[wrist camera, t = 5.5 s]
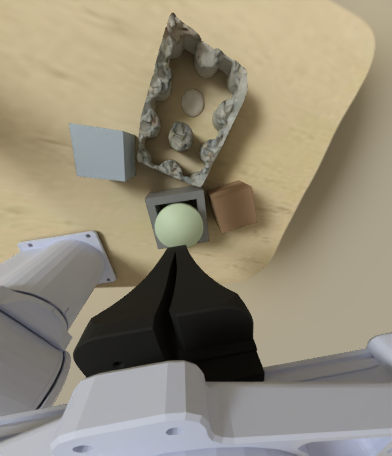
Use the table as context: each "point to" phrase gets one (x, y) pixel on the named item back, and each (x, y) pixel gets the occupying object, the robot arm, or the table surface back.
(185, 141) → the egg carton
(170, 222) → the green button
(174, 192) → the button housing
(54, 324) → the robot arm
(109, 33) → the table surface
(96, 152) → the slate-blue block
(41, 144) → the table surface
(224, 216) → the walnut block
